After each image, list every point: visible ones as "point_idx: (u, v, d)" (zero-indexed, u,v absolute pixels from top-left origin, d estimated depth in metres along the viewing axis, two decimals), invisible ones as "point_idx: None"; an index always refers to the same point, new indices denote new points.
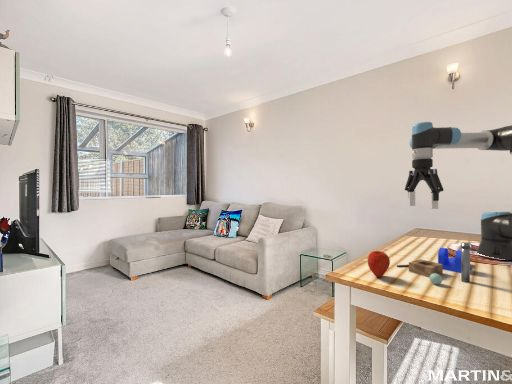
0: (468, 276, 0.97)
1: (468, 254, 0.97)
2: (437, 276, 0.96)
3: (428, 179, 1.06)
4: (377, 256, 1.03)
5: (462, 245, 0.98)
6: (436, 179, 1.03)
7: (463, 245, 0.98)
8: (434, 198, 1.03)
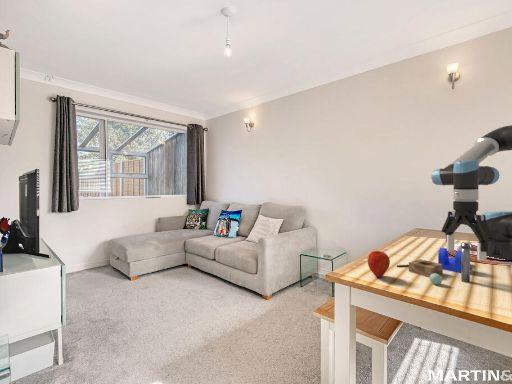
0: (468, 276, 0.97)
1: (468, 254, 0.97)
2: (437, 276, 0.96)
3: (474, 225, 0.94)
4: (377, 256, 1.03)
5: (462, 245, 0.98)
6: (485, 227, 0.90)
7: (463, 245, 0.98)
8: (482, 249, 0.91)
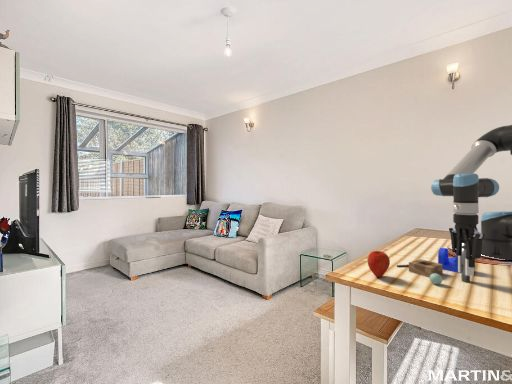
0: (469, 276, 0.98)
1: None
2: (437, 276, 0.96)
3: (469, 241, 0.96)
4: (377, 256, 1.03)
5: (462, 245, 0.98)
6: (479, 245, 0.93)
7: (463, 245, 0.98)
8: (470, 264, 0.96)
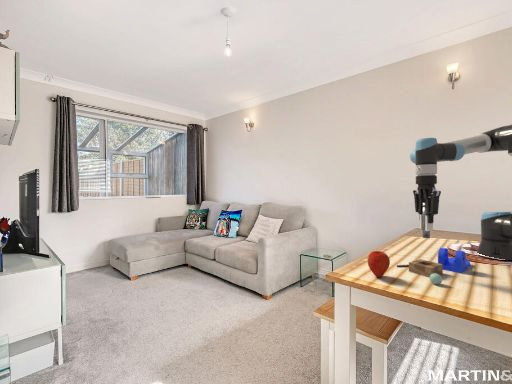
0: (428, 232, 1.07)
1: None
2: (437, 276, 0.96)
3: (429, 199, 1.06)
4: (377, 256, 1.03)
5: (423, 204, 1.08)
6: (436, 202, 1.03)
7: (424, 204, 1.08)
8: (429, 220, 1.06)
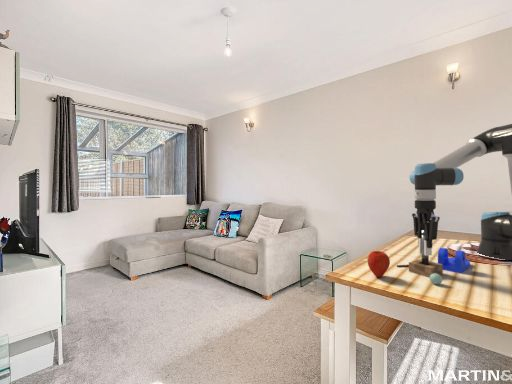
0: (427, 260, 1.08)
1: None
2: (437, 276, 0.96)
3: (428, 224, 1.06)
4: (377, 256, 1.03)
5: (422, 232, 1.09)
6: (435, 227, 1.03)
7: (422, 232, 1.08)
8: (428, 245, 1.06)
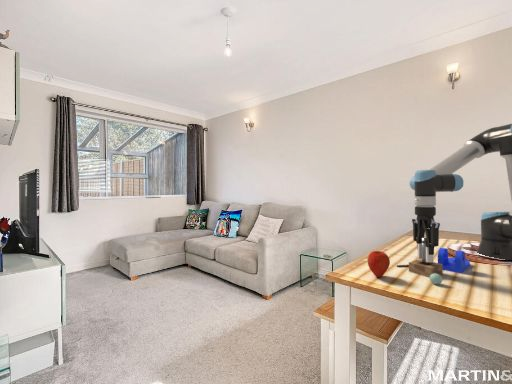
0: None
1: None
2: (437, 276, 0.96)
3: (428, 231, 1.06)
4: (377, 256, 1.03)
5: (422, 240, 1.09)
6: (436, 234, 1.03)
7: (423, 240, 1.08)
8: (429, 252, 1.06)
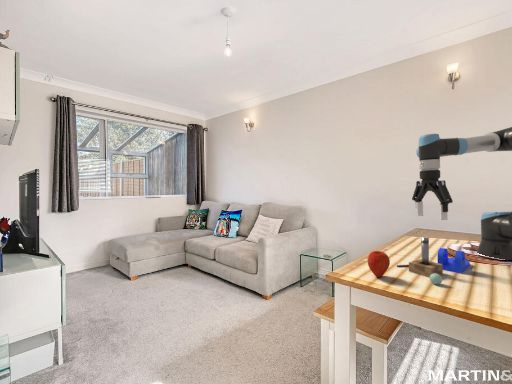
0: None
1: (427, 248, 1.08)
2: (437, 276, 0.96)
3: (436, 190, 1.08)
4: (377, 256, 1.03)
5: (422, 240, 1.09)
6: (445, 190, 1.04)
7: (422, 240, 1.08)
8: (443, 209, 1.04)
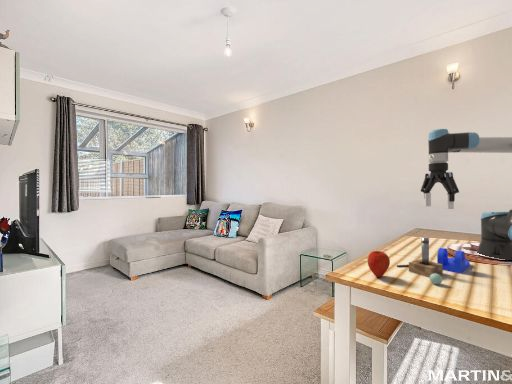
0: None
1: (427, 248, 1.08)
2: (437, 276, 0.96)
3: (444, 181, 1.16)
4: (377, 256, 1.03)
5: (422, 240, 1.09)
6: (452, 181, 1.12)
7: (423, 240, 1.08)
8: (450, 199, 1.13)
